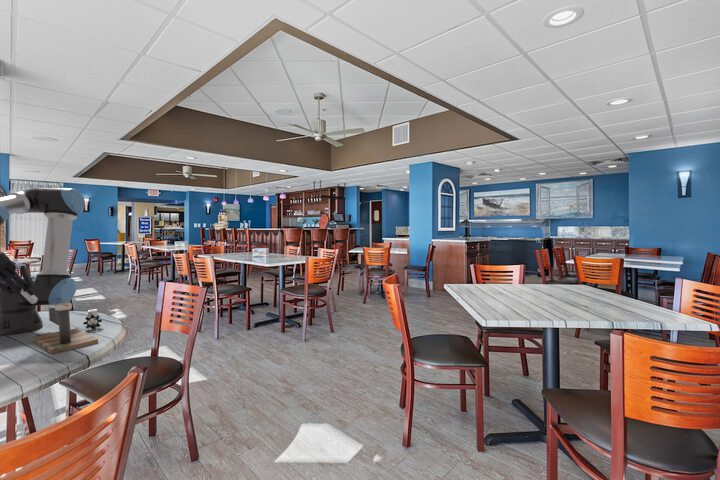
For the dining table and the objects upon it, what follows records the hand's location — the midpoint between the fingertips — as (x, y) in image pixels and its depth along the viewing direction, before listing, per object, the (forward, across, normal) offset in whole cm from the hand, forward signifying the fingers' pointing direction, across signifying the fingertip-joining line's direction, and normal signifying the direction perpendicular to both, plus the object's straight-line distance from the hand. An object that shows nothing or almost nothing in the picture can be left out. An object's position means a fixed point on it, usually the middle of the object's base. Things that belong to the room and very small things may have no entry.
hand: (34, 301), depth 135 cm
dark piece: (+12, +4, -14) cm, 19 cm away
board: (+14, +5, -14) cm, 20 cm away
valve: (+26, +7, +4) cm, 27 cm away
